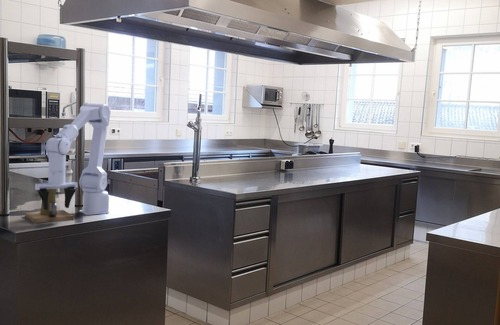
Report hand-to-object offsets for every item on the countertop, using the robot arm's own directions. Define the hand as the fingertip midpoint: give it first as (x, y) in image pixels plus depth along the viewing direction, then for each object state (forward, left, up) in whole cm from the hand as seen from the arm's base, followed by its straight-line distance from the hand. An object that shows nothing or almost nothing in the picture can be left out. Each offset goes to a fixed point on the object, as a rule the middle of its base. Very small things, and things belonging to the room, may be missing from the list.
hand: (56, 208), depth 177 cm
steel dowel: (0, -4, -4) cm, 5 cm away
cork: (0, -10, -4) cm, 10 cm away
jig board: (0, -8, -5) cm, 10 cm away
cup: (-22, -58, -5) cm, 62 cm away
